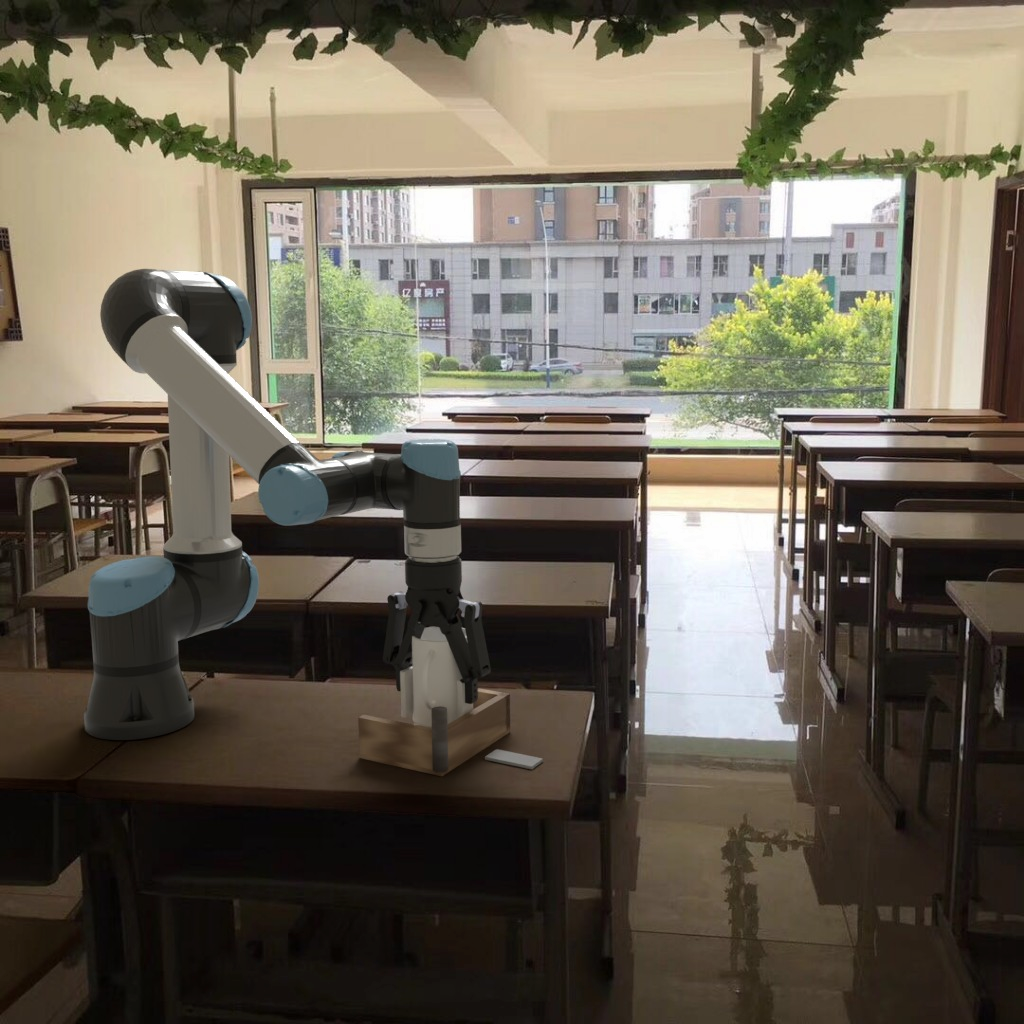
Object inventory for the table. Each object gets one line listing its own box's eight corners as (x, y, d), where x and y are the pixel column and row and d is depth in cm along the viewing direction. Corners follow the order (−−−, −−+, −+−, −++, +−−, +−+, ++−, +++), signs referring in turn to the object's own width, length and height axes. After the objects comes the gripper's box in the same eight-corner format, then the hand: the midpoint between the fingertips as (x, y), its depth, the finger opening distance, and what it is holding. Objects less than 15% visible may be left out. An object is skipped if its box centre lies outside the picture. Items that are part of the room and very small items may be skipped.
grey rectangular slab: (485, 759, 141) (485, 756, 141) (496, 751, 144) (496, 749, 144) (531, 769, 138) (531, 766, 138) (542, 761, 141) (542, 758, 141)
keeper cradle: (357, 758, 142) (355, 696, 141) (433, 717, 158) (431, 660, 156) (442, 778, 136) (441, 712, 134) (512, 732, 151) (512, 673, 150)
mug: (450, 740, 139) (448, 651, 137) (390, 733, 142) (387, 645, 140) (483, 711, 150) (482, 628, 148) (428, 705, 153) (425, 623, 151)
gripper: (351, 554, 145) (357, 715, 148) (487, 569, 134) (490, 742, 138) (384, 545, 151) (389, 699, 155) (516, 558, 141) (518, 723, 144)
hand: (437, 719), depth 146 cm, fingers closed on mug, 8 cm apart
